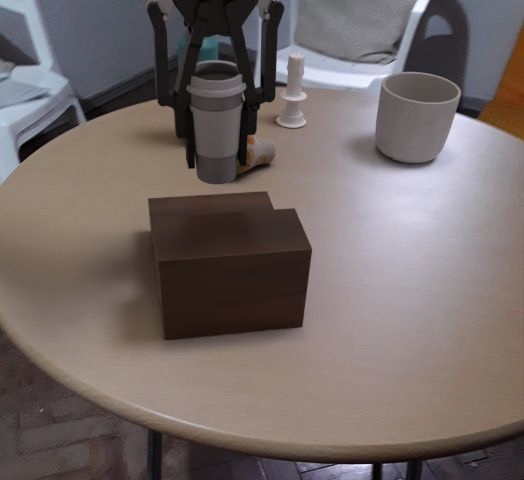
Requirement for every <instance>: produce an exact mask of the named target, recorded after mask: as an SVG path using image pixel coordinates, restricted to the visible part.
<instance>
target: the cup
mask: <svg viewBox="0 0 524 480" xmlns="http://www.w3.org/2000/svg"><path fill="white" fill-rule="evenodd" d="M238 72H239V70H238V68H237V65H236V62H232V61H229V60H223V59H222V60H220V59H218V60H207V61H201V62H197V65H196V69H195V73H194V76H191V85H187V88H186V90H187V91H188V92H190V94H189V99H188V105H189V109H190V111H191V112H192V113H193V118H194V147H195V169H196V170H195V171H196V177H197V178H198V180H200V181H201V182H203V183H205V184H209V185H215V186H216V185H225V184H229V183H231V182H232V181H234V180H235V179H236V177H237V174H236V169H237V156H238V150H239V145H240V126H241V110H242V107H243V100H244V96H243V91H244V90H245V89H246V84H245V82H244V83H242V74H240V72H239V73H238Z"/></svg>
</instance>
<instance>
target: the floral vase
mask: <svg viewBox="0 0 524 480" xmlns="http://www.w3.org/2000/svg"><path fill="white" fill-rule="evenodd" d="M276 155H277V147H276V145H275V143H274V141H273V140H272V139H271V138H268V137H261V136H258V135H256V134H255V135H248V136H247V166H240V164H239V161H238V159H237V169H236V175H239V174H242V173H244V172H247V171H248V170H250V169H252V168H255V166H258V165H269V164H271V163H272V162H273V161H274V159H275V158H276Z"/></svg>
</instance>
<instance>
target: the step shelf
mask: <svg viewBox="0 0 524 480" xmlns="http://www.w3.org/2000/svg"><path fill="white" fill-rule="evenodd" d="M147 205H148V214H149V215H148V217H149V228H150V235H151V243H152V251H153V259H154V267H155V276H156V283H157V291H158V299H159V305H160V314H161V322H162V329H163V337H164V341H170V340H179V339H180V340H181V339H190V338H191V339H192V338H200V337H211V336H220V335H230V334H239V333H240V334H241V333H250V332H251V333H252V332H260V331H261V332H262V331H269V330H281V329H290V328H301V327H303V326H304V317H305V309H306V301H307V293H308V286H309V278H310V272H311V263H312V256H313V255H312V254H313V248H312V245H311V243H310V240H309V238H308V236H307V233H306V231H305V228H304V226H303V224H302V221H301V220H300V217H299V214H298V212H297V209H296V208H295V207H291V208H274V206H273V205H274V204H273V203H272V200H271V198H270V195H269V192H268V190H265V191H263V190H262V191H246V192H232V193H231V192H230V193H215V194H214V193H213V194H200V195H199V194H195V195H182V196H181V195H180V196H166V197H165V196H164V197H150V198H149V197H148V198H147Z"/></svg>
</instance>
